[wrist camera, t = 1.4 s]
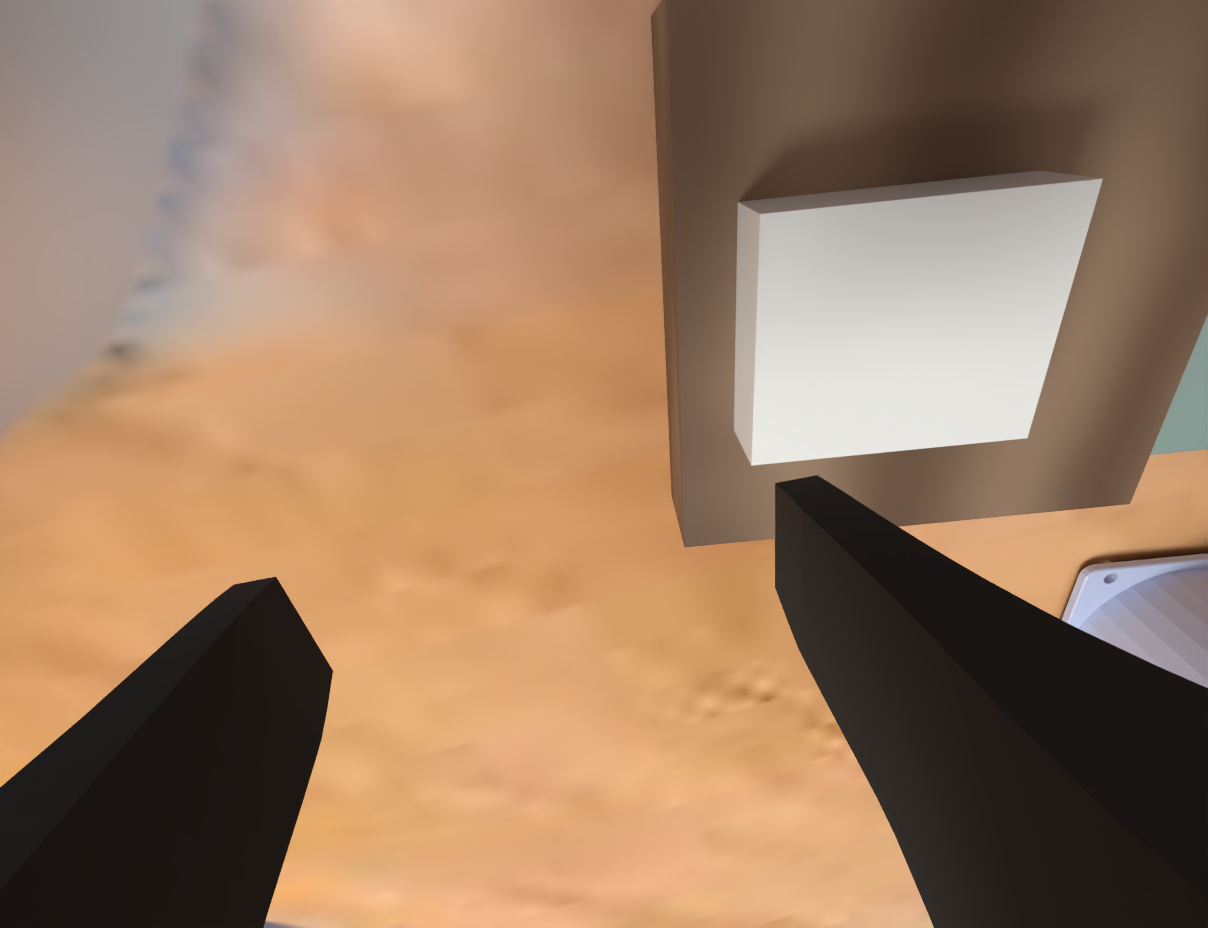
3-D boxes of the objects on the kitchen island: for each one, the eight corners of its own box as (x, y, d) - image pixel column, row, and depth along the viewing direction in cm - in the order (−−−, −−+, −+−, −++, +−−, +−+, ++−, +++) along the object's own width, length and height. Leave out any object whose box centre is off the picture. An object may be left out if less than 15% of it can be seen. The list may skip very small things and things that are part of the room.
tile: (1038, 170, 14) (1103, 178, 12) (981, 405, 17) (1027, 438, 15) (737, 202, 14) (759, 214, 12) (734, 430, 17) (751, 465, 15)
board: (1229, -47, 15) (1370, -82, 12) (1063, 457, 22) (1129, 503, 19) (651, 16, 15) (667, -5, 12) (671, 495, 22) (684, 547, 19)
